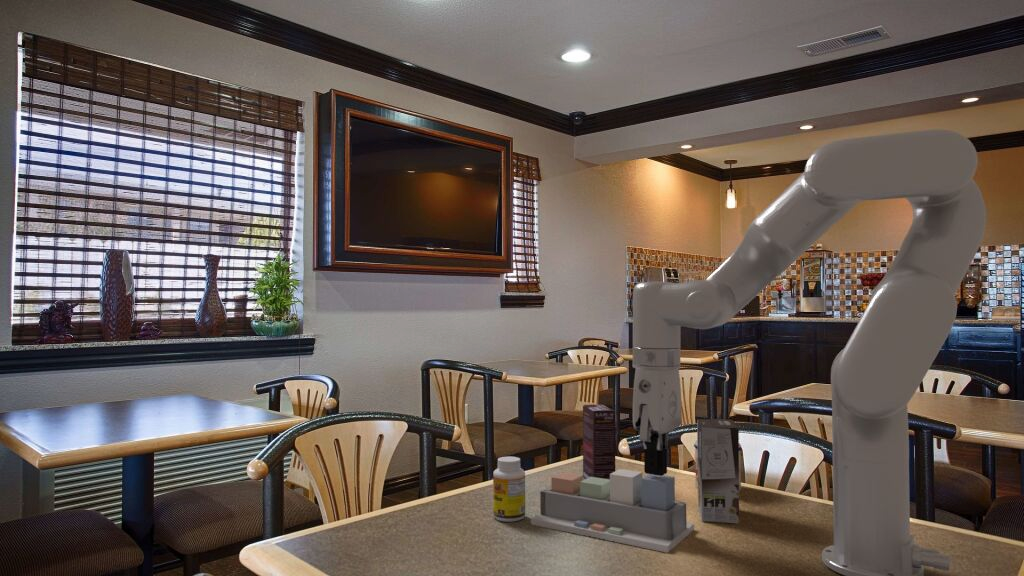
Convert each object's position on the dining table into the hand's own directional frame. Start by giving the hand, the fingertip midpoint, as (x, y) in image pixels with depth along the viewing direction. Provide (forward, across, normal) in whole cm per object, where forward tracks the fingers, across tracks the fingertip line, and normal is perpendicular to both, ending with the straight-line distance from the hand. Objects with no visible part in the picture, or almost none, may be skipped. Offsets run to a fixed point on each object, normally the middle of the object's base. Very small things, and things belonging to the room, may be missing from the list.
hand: (655, 473), depth 109 cm
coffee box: (+10, +16, -5) cm, 20 cm away
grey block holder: (+10, 0, +8) cm, 13 cm away
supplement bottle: (+11, -5, +25) cm, 27 cm away
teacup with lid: (+10, +31, -1) cm, 33 cm away
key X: (+6, 0, +5) cm, 8 cm away
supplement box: (+10, +22, +21) cm, 32 cm away
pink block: (+8, 0, +16) cm, 18 cm away
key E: (+8, 0, +10) cm, 13 cm away
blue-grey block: (+6, 0, -1) cm, 6 cm away
